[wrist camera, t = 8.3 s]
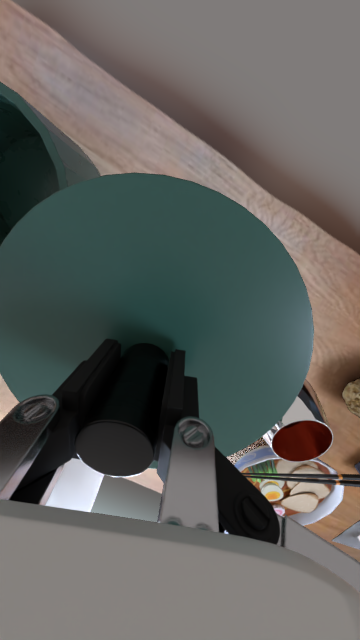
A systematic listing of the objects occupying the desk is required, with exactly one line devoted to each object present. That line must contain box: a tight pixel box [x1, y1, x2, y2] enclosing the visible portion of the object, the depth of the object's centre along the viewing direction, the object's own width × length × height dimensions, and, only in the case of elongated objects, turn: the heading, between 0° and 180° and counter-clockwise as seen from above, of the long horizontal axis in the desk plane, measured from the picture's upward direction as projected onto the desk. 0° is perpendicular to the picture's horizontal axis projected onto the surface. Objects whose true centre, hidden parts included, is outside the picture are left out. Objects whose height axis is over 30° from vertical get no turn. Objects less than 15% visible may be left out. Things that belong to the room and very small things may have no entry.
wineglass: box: [262, 379, 333, 462], centre depth 28 cm, size 8×8×18 cm
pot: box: [0, 82, 101, 246], centre depth 24 cm, size 17×17×11 cm
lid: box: [0, 173, 314, 477], centre depth 9 cm, size 18×18×6 cm
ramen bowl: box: [234, 445, 360, 525], centre depth 42 cm, size 25×23×8 cm
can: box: [45, 458, 104, 512], centre depth 34 cm, size 12×12×20 cm
